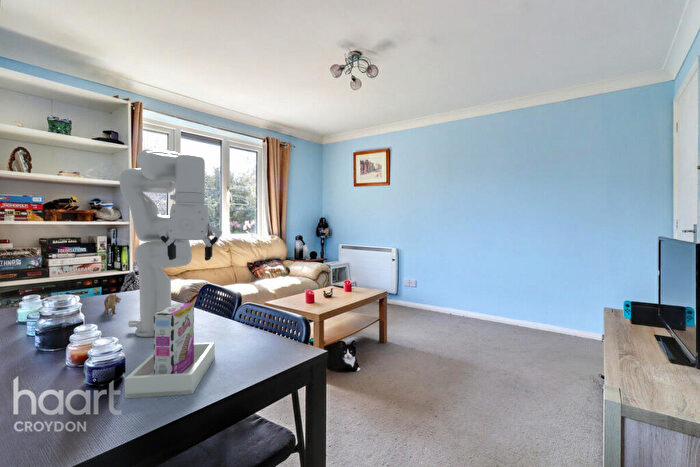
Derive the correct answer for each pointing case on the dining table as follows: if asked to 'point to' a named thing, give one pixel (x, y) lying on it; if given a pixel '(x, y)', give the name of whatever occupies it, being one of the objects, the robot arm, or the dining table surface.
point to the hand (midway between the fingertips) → (190, 259)
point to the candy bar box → (174, 339)
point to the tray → (169, 376)
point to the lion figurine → (111, 303)
